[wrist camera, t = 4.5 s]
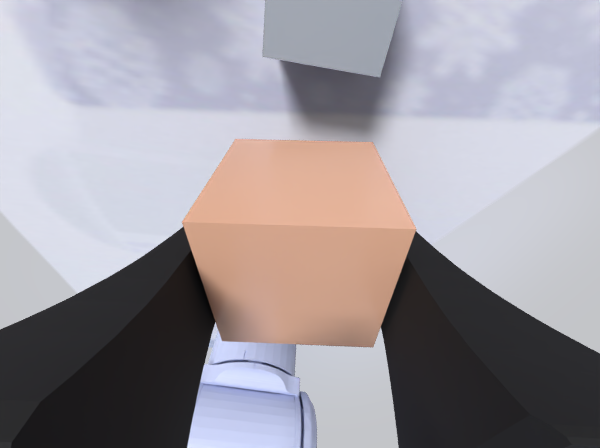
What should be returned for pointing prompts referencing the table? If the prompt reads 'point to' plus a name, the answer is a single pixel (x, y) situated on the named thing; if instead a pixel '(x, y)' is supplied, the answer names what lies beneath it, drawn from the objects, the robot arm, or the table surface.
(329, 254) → the terracotta block
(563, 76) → the table surface
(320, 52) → the slate block
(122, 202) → the table surface
